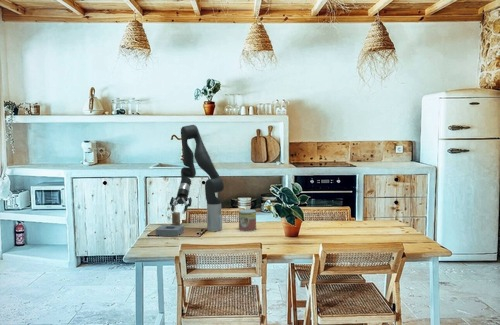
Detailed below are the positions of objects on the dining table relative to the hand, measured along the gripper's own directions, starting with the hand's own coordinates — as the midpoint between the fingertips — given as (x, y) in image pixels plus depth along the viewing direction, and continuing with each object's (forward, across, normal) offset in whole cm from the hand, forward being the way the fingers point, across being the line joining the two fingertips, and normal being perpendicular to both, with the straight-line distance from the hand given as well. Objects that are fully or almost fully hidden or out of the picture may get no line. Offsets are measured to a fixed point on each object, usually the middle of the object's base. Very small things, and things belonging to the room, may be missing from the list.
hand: (178, 210), depth 293 cm
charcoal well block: (+20, 0, -5) cm, 21 cm away
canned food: (+8, +46, +8) cm, 47 cm away
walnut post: (+12, 0, +4) cm, 12 cm away
